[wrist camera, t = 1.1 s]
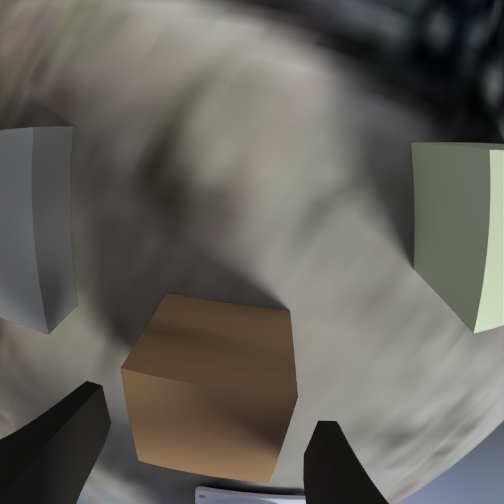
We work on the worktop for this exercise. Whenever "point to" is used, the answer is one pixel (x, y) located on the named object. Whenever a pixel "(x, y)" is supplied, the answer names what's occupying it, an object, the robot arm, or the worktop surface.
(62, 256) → the slate tile
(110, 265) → the worktop surface
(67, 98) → the worktop surface
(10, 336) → the worktop surface
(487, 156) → the sage cube
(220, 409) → the walnut cube
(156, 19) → the worktop surface
